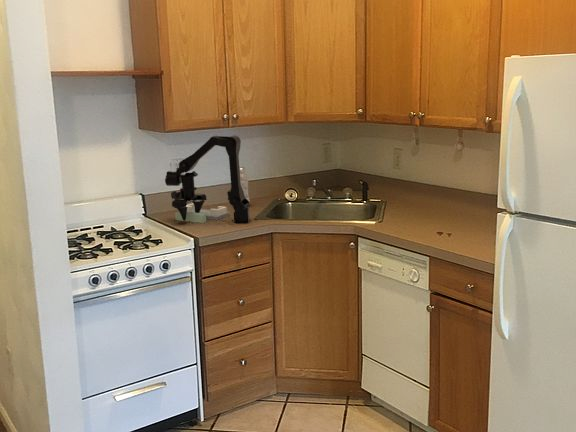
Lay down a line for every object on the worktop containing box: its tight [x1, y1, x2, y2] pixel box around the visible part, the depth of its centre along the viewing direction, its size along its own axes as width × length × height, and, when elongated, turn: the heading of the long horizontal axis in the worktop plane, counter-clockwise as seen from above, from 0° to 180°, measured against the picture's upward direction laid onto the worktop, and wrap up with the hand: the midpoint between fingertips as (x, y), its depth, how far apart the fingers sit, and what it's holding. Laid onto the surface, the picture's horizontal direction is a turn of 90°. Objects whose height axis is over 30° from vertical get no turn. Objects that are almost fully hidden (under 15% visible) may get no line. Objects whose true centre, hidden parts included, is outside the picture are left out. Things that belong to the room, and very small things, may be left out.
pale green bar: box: [174, 210, 207, 224], centre depth 311 cm, size 16×3×4 cm, turn 60°
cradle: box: [186, 202, 231, 221], centre depth 320 cm, size 22×10×4 cm, turn 58°
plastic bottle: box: [239, 166, 251, 203], centre depth 335 cm, size 6×7×20 cm
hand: (190, 218), depth 311 cm, fingers open, 9 cm apart
